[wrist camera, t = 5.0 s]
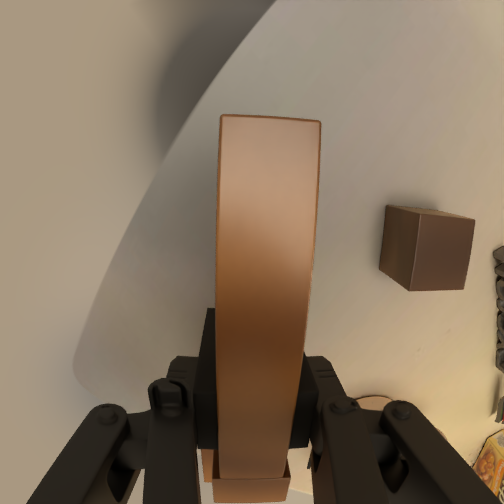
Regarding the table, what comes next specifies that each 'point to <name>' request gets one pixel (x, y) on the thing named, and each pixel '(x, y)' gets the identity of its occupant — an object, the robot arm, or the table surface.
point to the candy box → (492, 464)
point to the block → (426, 248)
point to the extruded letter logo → (500, 326)
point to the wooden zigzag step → (261, 298)
